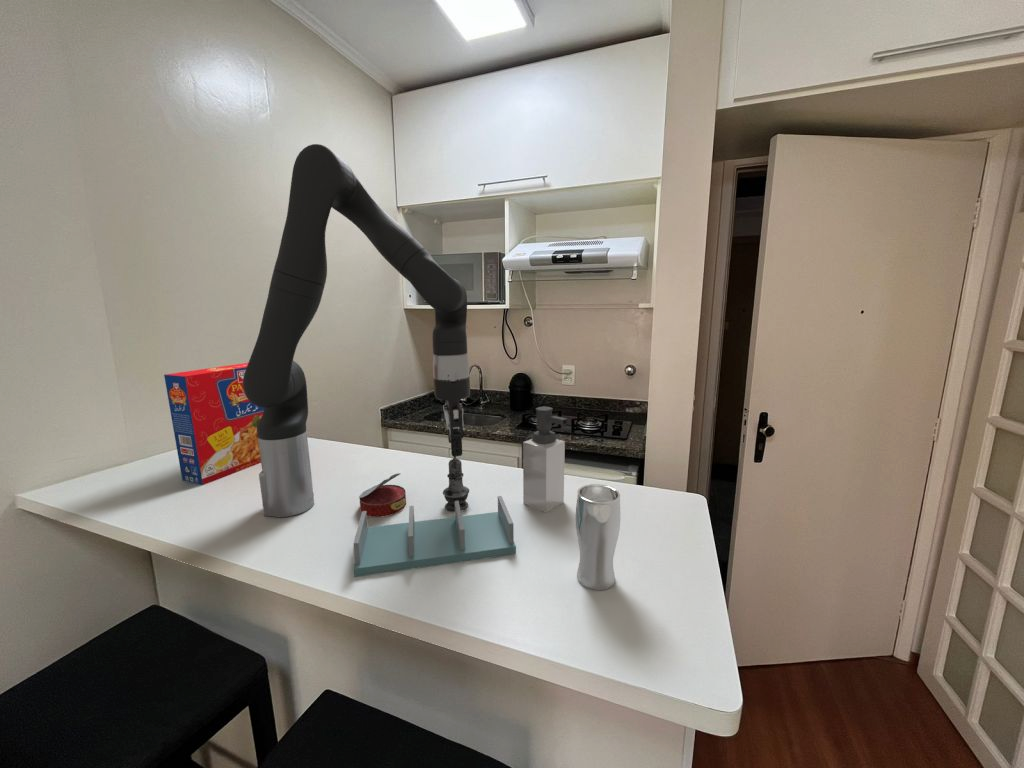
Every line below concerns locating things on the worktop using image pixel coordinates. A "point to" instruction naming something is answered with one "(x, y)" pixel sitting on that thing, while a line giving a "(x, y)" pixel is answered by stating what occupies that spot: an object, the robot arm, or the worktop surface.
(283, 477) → the robot arm
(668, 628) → the worktop surface
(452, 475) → the grey chess piece
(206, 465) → the pasta box
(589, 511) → the beer glass
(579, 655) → the worktop surface
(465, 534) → the rack
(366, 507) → the canned food
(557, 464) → the soap dispenser
